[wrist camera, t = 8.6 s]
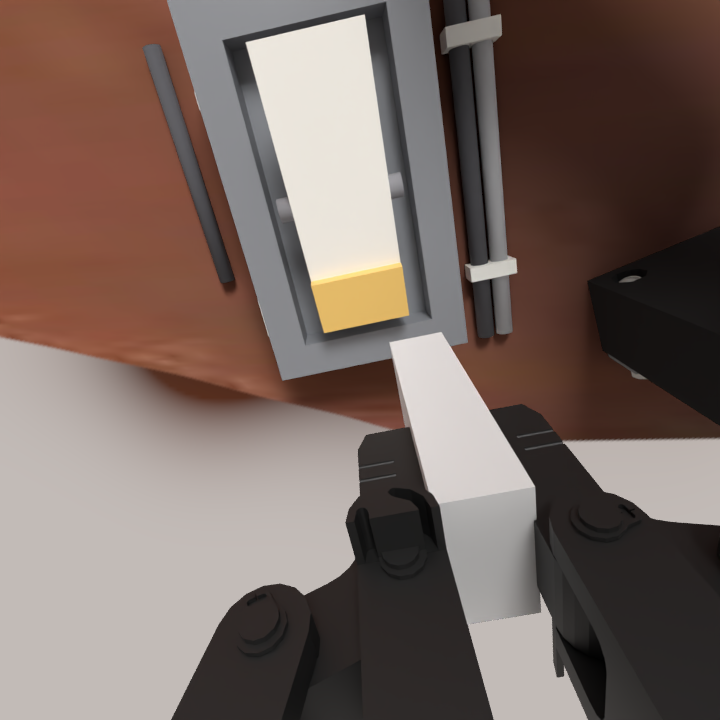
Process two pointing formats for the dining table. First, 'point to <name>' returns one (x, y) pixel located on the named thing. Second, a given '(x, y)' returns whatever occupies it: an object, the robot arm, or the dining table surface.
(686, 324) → the electrical component
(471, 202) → the dressed cords
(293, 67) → the rocker
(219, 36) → the breaker housing
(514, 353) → the dining table surface
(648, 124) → the dining table surface
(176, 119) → the dark grey thin bar
